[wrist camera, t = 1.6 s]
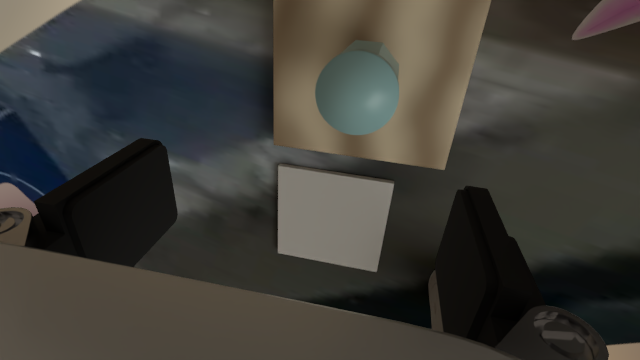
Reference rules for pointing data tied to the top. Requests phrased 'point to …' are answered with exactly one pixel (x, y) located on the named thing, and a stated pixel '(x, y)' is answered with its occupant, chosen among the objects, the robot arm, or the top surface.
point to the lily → (608, 17)
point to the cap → (359, 88)
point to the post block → (414, 75)
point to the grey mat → (332, 216)
